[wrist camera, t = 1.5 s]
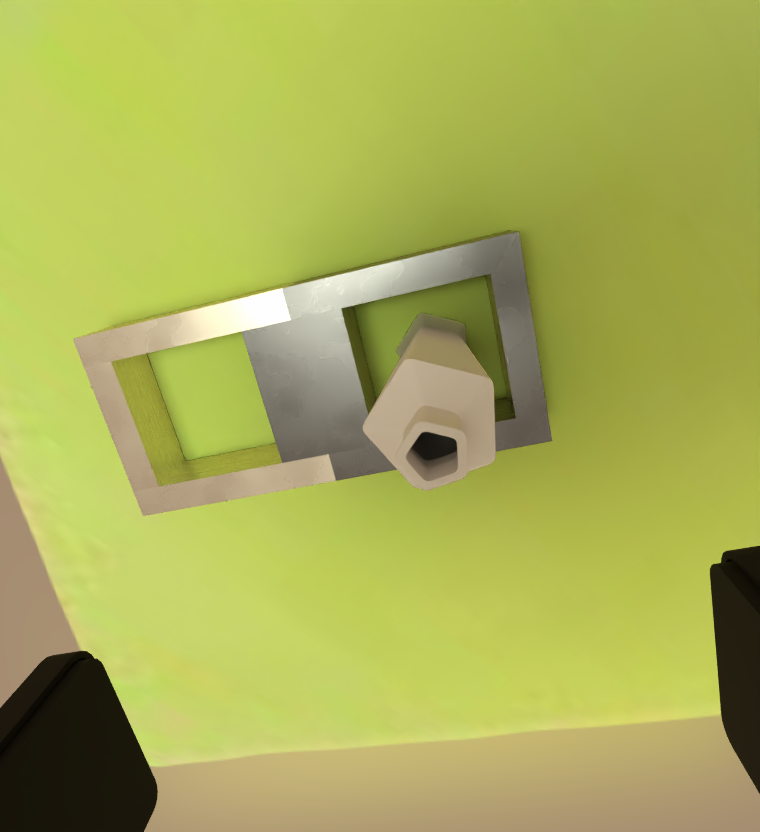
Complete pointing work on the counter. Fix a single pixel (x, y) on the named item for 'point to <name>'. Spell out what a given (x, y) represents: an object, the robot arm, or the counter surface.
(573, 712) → the counter surface
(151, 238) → the counter surface
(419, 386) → the perfume bottle
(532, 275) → the counter surface
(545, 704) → the counter surface
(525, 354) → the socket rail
